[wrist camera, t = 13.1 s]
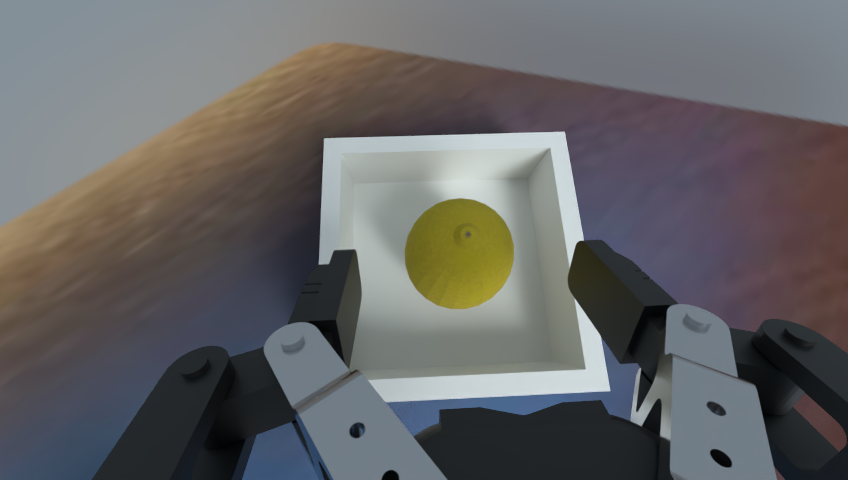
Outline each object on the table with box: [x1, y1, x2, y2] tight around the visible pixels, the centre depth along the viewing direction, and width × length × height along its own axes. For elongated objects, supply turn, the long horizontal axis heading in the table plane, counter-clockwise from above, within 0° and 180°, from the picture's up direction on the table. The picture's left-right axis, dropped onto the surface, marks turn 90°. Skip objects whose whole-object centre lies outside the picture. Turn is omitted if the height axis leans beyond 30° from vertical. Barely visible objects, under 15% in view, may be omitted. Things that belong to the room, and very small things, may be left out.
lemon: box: [405, 198, 514, 309], centre depth 17 cm, size 6×6×8 cm
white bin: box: [319, 132, 610, 402], centre depth 19 cm, size 14×14×5 cm
